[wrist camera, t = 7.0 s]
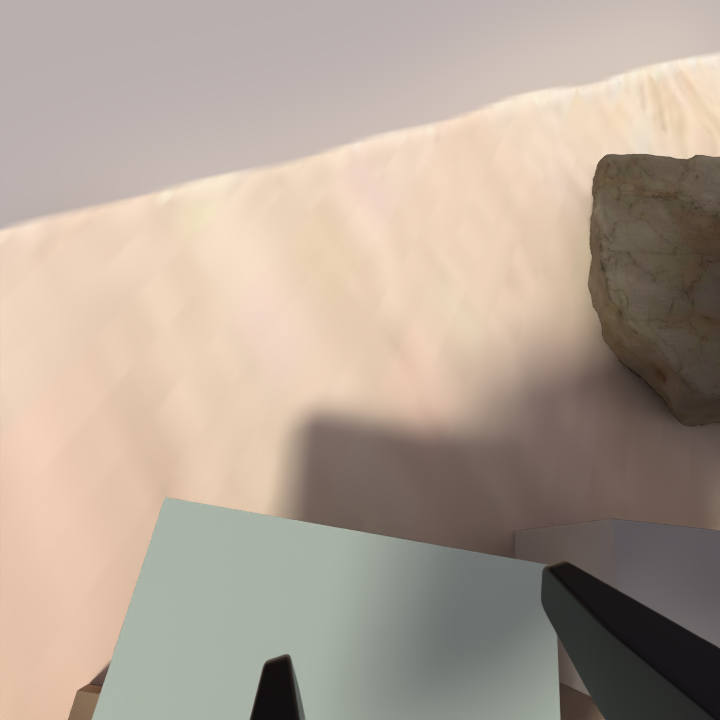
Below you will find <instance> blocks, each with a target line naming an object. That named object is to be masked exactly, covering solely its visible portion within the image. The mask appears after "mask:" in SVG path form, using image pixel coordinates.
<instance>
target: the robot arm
mask: <svg viewBox="0 0 720 720" xmlns="http://www.w3.org/2000/svg"><path fill="white" fill-rule="evenodd" d="M541 603H542V606H543V609H544V611H545V613H546V615H547V617H548V619H549V621H550V623H551V624H552V626H553V628H554V630H555V632H556V634H557V636H558V637H559V639H560V641H561V643H562V645H563V647H564V649H565V650H566V652H567V654H568V656H569V658H570V660H571V662H572V663H573V665H574V667H575V669H576V671H577V673H578V675H579V676H580V678H581V680H582V682H583V684H584V686H585V687H586V689H587V691H588V693H589V694H590V696H591V698H592V700H593V701H594V703H595V704H596V706H597V708H598V709H599V711H600V712H601V714H602V715H603V717H604V718H605V720H720V648H719V647H717V646H716V645H714V644H712V643H710V642H709V641H707V640H705V639H703V638H702V637H700V636H698V635H696V634H694V633H693V632H691V631H689V630H687V629H686V628H684V627H682V626H680V625H679V624H677V623H675V622H673V621H672V620H670V619H668V618H666V617H665V616H663V615H661V614H659V613H658V612H656V611H654V610H652V609H651V608H649V607H647V606H645V605H644V604H642V603H640V602H638V601H637V600H635V599H633V598H631V597H630V596H628V595H626V594H624V593H623V592H621V591H619V590H617V589H615V588H614V587H612V586H610V585H608V584H607V583H605V582H603V581H601V580H600V579H598V578H596V577H594V576H593V575H591V574H589V573H587V572H586V571H584V570H582V569H580V568H579V567H577V566H575V565H573V564H572V563H570V562H567V561H558V562H555V563H552V564H550V565H547V566H545V567H544V568H543V570H542V583H541ZM250 720H306V719H305V714H304V709H303V704H302V699H301V694H300V689H299V685H298V681H297V678H296V674H295V670H294V667H293V663H292V659H291V656H290V655H289V654H284V655H281V656H278V657H275V658H272V659H269V660H267V661H266V662H265V663H264V665H263V668H262V672H261V676H260V680H259V684H258V688H257V692H256V696H255V700H254V704H253V708H252V712H251V716H250Z"/></svg>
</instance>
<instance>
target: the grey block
mask: <svg viewBox="0 0 720 720" xmlns="http://www.w3.org/2000/svg"><path fill="white" fill-rule="evenodd" d="M514 539H515V559H519V560H525V561H531V562H536V563H542V564H548V565H550V564H552V563H555V562H558V561H567V562H570V563H572V564H573V565H575V566H577V567H579V568H580V569H582V570H584V571H586V572H587V573H589V574H591V575H593V576H594V577H596V578H598V579H600V580H601V581H603V582H605V583H607V584H608V585H610V586H612V587H614V588H615V589H617V590H619V591H621V592H623V593H624V594H626V595H628V596H630V597H631V598H633V599H635V600H637V601H638V602H640V603H642V604H644V605H645V606H647V607H649V608H651V609H652V610H654V611H656V612H658V613H659V614H661V615H663V616H665V617H666V618H668V619H670V620H672V621H673V622H675V623H677V624H679V625H680V626H682V627H684V628H686V629H687V630H689V631H691V632H693V633H694V634H696V635H698V636H700V637H702V638H703V639H705V640H707V641H709V642H710V643H712V644H714V645H716V646H717V647H719V648H720V530H711V529H702V528H693V527H684V526H675V525H666V524H657V523H647V522H638V521H629V520H620V519H606V520H598V521H590V522H582V523H574V524H566V525H558V526H551V527H543V528H535V529H527V530H519V531H514ZM557 645H558V670H559V682H560V683H563V684H565V685H567V686H569V687H571V688H573V689H575V690H578V691H580V692H582V693H584V694H586V695H588V696H590V694H589V693H588V691H587V689H586V687H585V686H584V684H583V682H582V680H581V678H580V676H579V675H578V673H577V671H576V669H575V667H574V665H573V663H572V662H571V660H570V658H569V656H568V654H567V652H566V650H565V649H564V647H563V645H562V643H561V641H560V639H559V637H558V636H557ZM590 697H591V696H590Z"/></svg>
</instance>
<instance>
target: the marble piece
mask: <svg viewBox="0 0 720 720" xmlns="http://www.w3.org/2000/svg"><path fill="white" fill-rule="evenodd" d="M592 195H593V197H594V202H593V212H592V216H591V226H590V249H591V254H592V262H591V267H590V274H589V281H588V287H589V290H590V293H591V297H592V303H593V307H594V309H595V310H596V311H597V313H598V316H599V319H600V322H601V325H602V335H603V338H604V340H605V342H606V343H607V344H608V345H609V346H610V347H611V349H612V350H613V351H614V352H615V354H616V355H617V357H618V358H619V360H620V362H622V363H623V364H625V365H626V366H627V367H628V368H630V369H631V370H632V371H634V372H635V373H636V374H638V375H639V376H641V377H642V378H643V379H644V380H645V381H646V382H647V383H648V384H649V385H650V386H651V387H652V388H653V389H654V390H655V391H656V392H657V393H658V394H659V395H660V396H662V398H663V399H664V401H665V403H666V404H667V405H668V407H669V408H670V409H671V411H672V412H673V413H674V415H675V416H676V417H677V419H678V420H679V421H680V422H681V423H682V424H683V425H684V426H689V427H691V426H697V425H704V424H707V423H710V422H720V157H711V156H705V155H695V156H694V157H692V158H690V159H676V158H672V157H665V156H655V155H649V154H626V155H616V154H608V155H606V156H604V157H603V158H602V159H601V160H600V161H599V163H598V164H597V169H596V172H595V176H594V178H593V187H592Z"/></svg>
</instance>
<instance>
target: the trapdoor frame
mask: <svg viewBox="0 0 720 720" xmlns="http://www.w3.org/2000/svg"><path fill="white" fill-rule="evenodd" d="M102 687H103V686H97V685H91V684H88V685H86V686H84V687H83V688H81V689H79V690H78V691H77V693H76V696H75V699H74V703H73V706H72V709H71V712H70V715H69V718H68V720H92V717H93V714H94V711H95V708H96V705H97V702H98V699H99V696H100V693H101V690H102Z"/></svg>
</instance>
